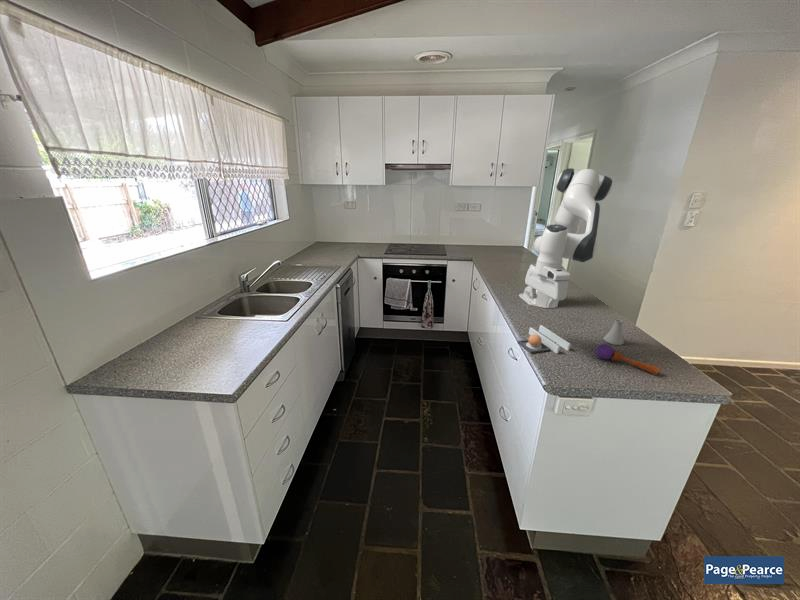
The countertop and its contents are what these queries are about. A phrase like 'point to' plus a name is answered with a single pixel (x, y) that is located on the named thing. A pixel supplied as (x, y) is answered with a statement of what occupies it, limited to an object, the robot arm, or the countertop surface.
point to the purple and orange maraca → (623, 358)
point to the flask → (615, 333)
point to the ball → (534, 340)
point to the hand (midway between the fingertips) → (540, 302)
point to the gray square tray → (533, 347)
